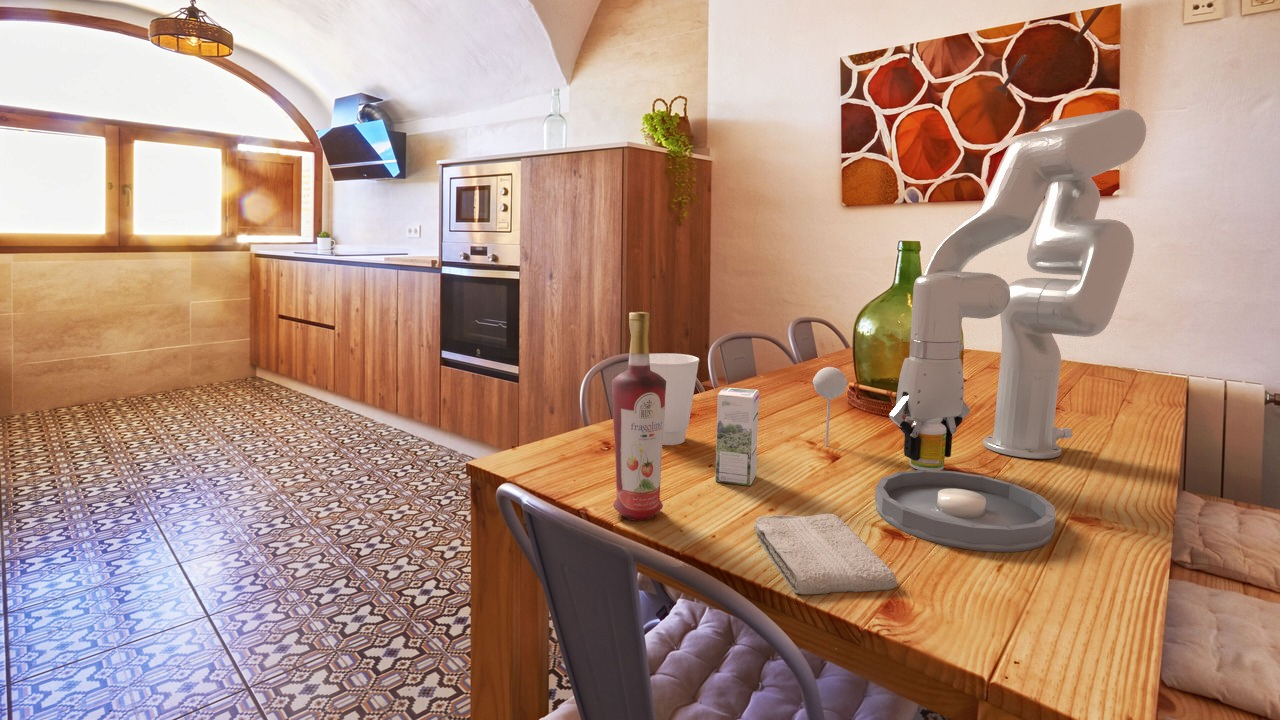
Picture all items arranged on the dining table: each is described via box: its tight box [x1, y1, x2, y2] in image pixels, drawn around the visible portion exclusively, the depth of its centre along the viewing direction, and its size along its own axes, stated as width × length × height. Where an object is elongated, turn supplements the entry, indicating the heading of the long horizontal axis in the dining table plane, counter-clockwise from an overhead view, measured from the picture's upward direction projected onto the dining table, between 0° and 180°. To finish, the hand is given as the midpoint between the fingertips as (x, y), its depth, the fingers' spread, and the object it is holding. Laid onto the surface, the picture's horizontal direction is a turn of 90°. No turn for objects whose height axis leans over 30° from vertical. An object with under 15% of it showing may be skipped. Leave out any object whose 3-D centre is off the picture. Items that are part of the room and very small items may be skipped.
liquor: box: [611, 311, 666, 521], centre depth 91 cm, size 7×7×28 cm
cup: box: [649, 352, 700, 446], centre depth 128 cm, size 12×12×16 cm
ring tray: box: [874, 469, 1057, 553], centre depth 93 cm, size 22×22×3 cm
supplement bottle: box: [909, 418, 946, 471], centre depth 113 cm, size 5×5×10 cm
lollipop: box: [812, 366, 848, 447], centre depth 125 cm, size 6×6×15 cm
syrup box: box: [715, 387, 760, 487], centre depth 107 cm, size 6×6×14 cm
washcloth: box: [753, 513, 898, 596], centre depth 81 cm, size 12×18×3 cm, turn 8°
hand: (927, 455), depth 114 cm, fingers closed on supplement bottle, 5 cm apart
